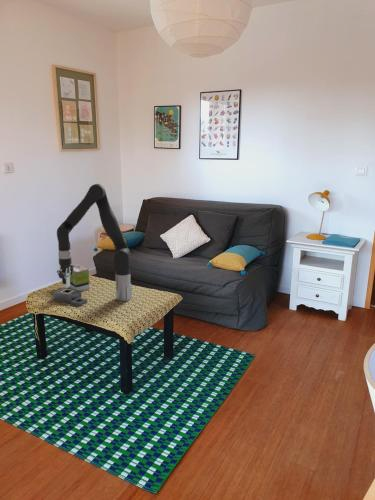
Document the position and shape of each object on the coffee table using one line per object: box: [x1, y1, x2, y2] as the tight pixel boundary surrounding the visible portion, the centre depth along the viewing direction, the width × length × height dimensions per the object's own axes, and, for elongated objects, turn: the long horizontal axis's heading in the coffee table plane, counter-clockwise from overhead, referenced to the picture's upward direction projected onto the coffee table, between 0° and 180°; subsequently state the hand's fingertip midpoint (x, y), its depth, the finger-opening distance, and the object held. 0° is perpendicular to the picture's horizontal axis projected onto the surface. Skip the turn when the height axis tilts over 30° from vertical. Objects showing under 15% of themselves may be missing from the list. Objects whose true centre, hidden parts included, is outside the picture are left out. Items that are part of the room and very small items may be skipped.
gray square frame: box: [70, 297, 88, 307], centre depth 240 cm, size 7×7×2 cm
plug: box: [62, 273, 70, 288], centre depth 243 cm, size 3×3×9 cm
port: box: [52, 286, 83, 304], centre depth 246 cm, size 14×10×5 cm
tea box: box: [69, 263, 90, 292], centre depth 264 cm, size 15×10×15 cm
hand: (66, 282), depth 244 cm, fingers closed on plug, 3 cm apart
